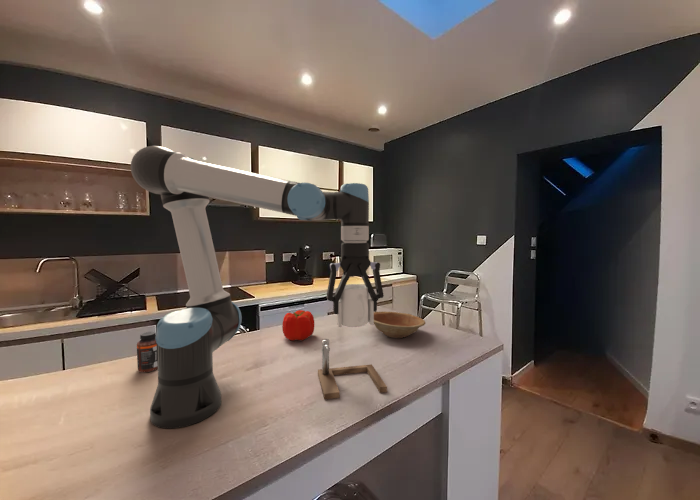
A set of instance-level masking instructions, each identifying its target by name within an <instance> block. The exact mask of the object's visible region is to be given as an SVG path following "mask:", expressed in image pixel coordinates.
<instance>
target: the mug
mask: <svg viewBox="0 0 700 500" xmlns="http://www.w3.org/2000/svg"><path fill="white" fill-rule="evenodd" d="M368 299H369V292H368V288H366V286H365V284H356V283H353V284H352V283H351V284H346V286H345V288H344V290H343V292H342V295H341V297H340V299H339V301H340V302H341V303H342V326H343V327H347V328H361V327H364V326H366V325H367V324H369V322H368V319H369V312H368Z"/></svg>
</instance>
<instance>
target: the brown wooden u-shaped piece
mask: <svg viewBox="0 0 700 500" xmlns="http://www.w3.org/2000/svg"><path fill="white" fill-rule="evenodd" d="M358 373H359V374H360V373H367V374H368V376H369V378H370V379H371V381H372V383H373V384H374V386H375V387H376V389H377V391H378V392H379V394H382V393H387V392H388V386H387V385H386V383H385V381H384V380H383V379H382V377H381V375H380V374H379V373H378V371H377V370H376V368H375V367H374V365H373V364H372V363H371V364H362V365H352V366H351V365H350V366H342V367H331V368H330V367H329V374H328V375H323V374H322V368H321V369H317V377H318V380H319V385H320V388H321V389H320V390H321V393H322V396H323V399H324V400H332V399H338V398H339V399H340V390H339V387H338V384H337V382H336V379H335V376H340V375H347V374H348V375H350V374H358Z"/></svg>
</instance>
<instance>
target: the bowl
mask: <svg viewBox="0 0 700 500" xmlns="http://www.w3.org/2000/svg"><path fill="white" fill-rule="evenodd" d="M425 325H426V320H424V319H423V318H421V317H419V316H416V315H412V314H410V313H405V312H397V311H376V312H374V326H375V328H376V329H377V330H378V331H380V332H381V333H382V334H383V335H385V336H387V338H391V339H392V338H393V339H403V337H404V338H406V337H408V336H410V335H412V334H414V333H416V332H417V331H418V330H419V328H422V327H423V326H425Z"/></svg>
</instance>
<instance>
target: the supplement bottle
mask: <svg viewBox="0 0 700 500" xmlns="http://www.w3.org/2000/svg"><path fill="white" fill-rule="evenodd" d="M156 333H157V332H155V331H146V332H145V331H144V332H142V333H141V334H140V335H139V339H140V340H138V341H137V342H136V343H137V344H136V357H137V358H136V360H137V371H138V372H139V373H149V372H153V371H156V370H158V366H157V343H156V339H155V338H156Z"/></svg>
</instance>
